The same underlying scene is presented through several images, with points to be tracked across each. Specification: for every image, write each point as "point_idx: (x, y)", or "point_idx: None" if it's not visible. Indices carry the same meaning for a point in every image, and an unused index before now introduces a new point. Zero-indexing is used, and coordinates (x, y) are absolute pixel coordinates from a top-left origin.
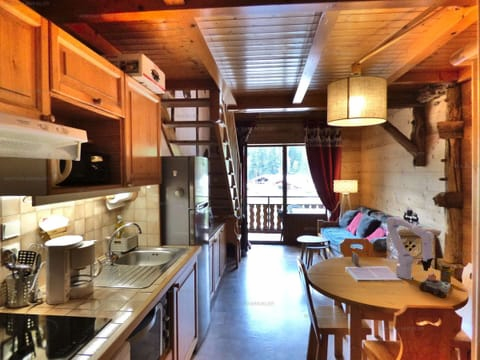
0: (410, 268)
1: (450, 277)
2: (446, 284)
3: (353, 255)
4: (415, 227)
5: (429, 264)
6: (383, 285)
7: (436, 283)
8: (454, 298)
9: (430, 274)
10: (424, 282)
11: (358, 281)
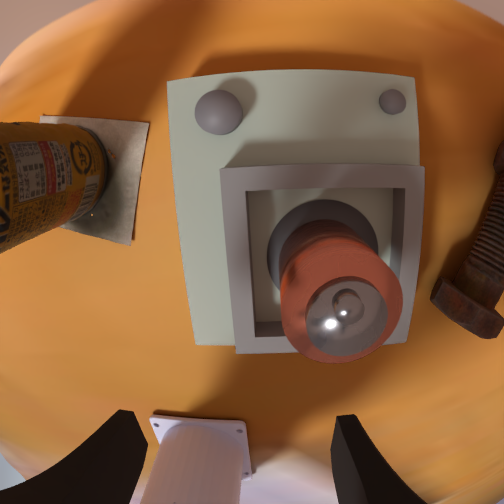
0: (197, 497)
1: (30, 122)
2: (241, 106)
3: None
4: None
5: (104, 469)
6: (458, 451)
7: (299, 215)
8: (480, 44)
9: (355, 342)
10: (482, 316)
11: (439, 500)
